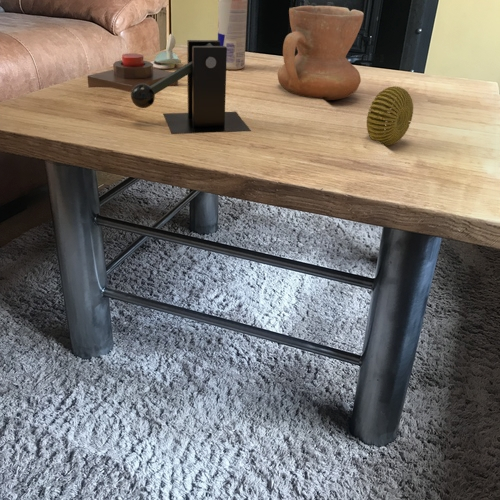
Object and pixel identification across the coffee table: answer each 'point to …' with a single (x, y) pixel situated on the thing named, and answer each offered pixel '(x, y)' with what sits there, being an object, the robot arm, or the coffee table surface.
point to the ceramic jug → (320, 52)
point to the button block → (128, 76)
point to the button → (132, 60)
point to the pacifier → (167, 56)
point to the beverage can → (233, 31)
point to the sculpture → (390, 115)
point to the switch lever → (157, 86)
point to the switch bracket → (206, 93)
